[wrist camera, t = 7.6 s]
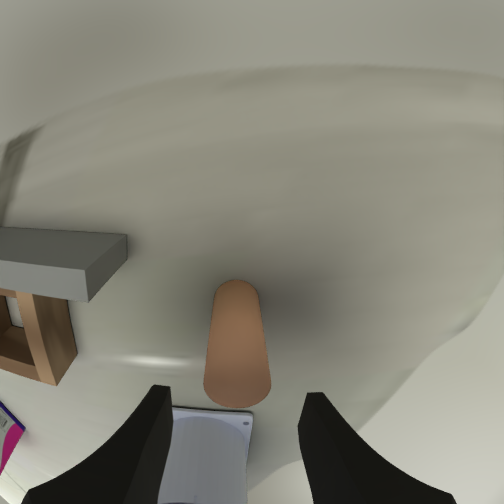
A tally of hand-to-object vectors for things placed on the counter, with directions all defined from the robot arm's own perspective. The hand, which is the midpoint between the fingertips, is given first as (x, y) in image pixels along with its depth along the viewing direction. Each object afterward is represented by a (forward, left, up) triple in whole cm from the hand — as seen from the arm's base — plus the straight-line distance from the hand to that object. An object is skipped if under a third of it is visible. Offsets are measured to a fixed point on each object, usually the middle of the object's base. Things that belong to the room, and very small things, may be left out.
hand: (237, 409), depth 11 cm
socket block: (-2, +16, -9) cm, 19 cm away
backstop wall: (+3, +16, -9) cm, 19 cm away
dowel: (0, 0, -9) cm, 9 cm away
